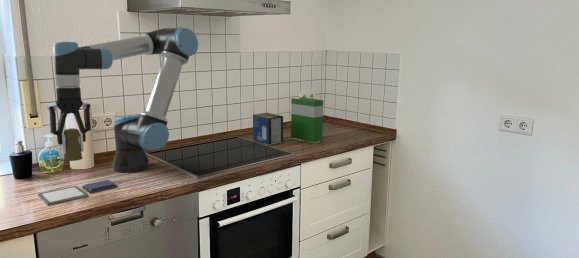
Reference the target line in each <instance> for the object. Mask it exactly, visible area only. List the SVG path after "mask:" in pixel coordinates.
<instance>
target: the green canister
mask: <svg viewBox="0 0 579 258" xmlns="http://www.w3.org/2000/svg"><path fill="white" fill-rule="evenodd" d="M290 101H291V102H290V103H291V104H290V105H291V110H290V111H291V113H290V116H291V118H290V121H291V122H290V130H291V131H290V138H291V137H292V138H297V139H301V140H305V141H310V142H317V141H321V140H322V141H323V127H324V125H323V124H324V122H323V121H324V100H323V99H316V98H309V97H308V98H307V97H302V96H299V98H292V97H291V99H290Z"/></svg>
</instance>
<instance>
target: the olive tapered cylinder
mask: <svg viewBox="0 0 579 258" xmlns="http://www.w3.org/2000/svg"><path fill="white" fill-rule="evenodd" d="M80 133H81V132H80V130H79V128H78V129H77V128H71V127H70V128H65V129H63V133H62V134H63V135H65V146H66V154H63V161H65V162H75V161H76V162H77V161H80V160H81V161H82V159H83V154H82V153H83V152H81V149H80V144H79V139H78V137H79V135H80Z"/></svg>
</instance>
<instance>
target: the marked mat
mask: <svg viewBox="0 0 579 258" xmlns="http://www.w3.org/2000/svg"><path fill="white" fill-rule="evenodd" d="M37 196H38V198H40V199H41V201H42V202H44V203H45V204H46V205H47V206H52V205H58V204H60V203H65V202H69V201H73V200H78V199H84V198H87V197H89V193H88V192H87V191H85V190H84V189H83V188H82V189H81V188H80V187H79V186H78V185H73V186H68V187H63V188H59V189H53V190H49V191H43V192H38V193H37Z"/></svg>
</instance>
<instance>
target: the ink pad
mask: <svg viewBox="0 0 579 258" xmlns="http://www.w3.org/2000/svg"><path fill="white" fill-rule="evenodd" d="M81 187H82V190H84V191H85V192H87V193H88V194H93V193H97V192H102V191H105V190H111V189H115V188H118V184H116V183H114V182H113V181H111V180H110V179H106V180H101V181H96V182H90V183H86V184H84V185H82V186H81Z"/></svg>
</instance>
